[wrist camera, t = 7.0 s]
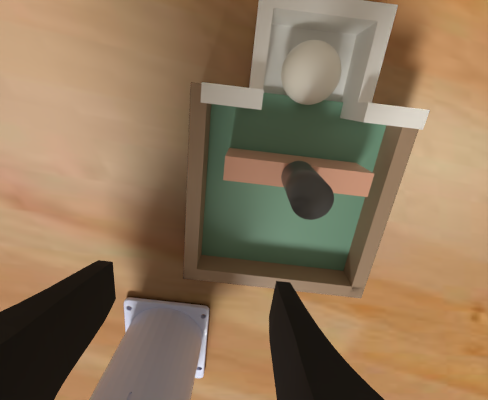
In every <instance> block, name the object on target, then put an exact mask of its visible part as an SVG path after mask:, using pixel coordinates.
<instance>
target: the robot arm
mask: <svg viewBox="0 0 488 400" xmlns="http://www.w3.org/2000/svg"><path fill="white" fill-rule="evenodd" d="M115 299H116V297H115V285H114V273H113V262H108V261H100V260H98V261H96V262H94V263H92V264H91V265H89V266H87V267H85V268H83V269H82V270H80V271H78V272H76V273H74V274H73V275H71V276H69V277H67V278H65V279H64V280H62V281H60V282H58V283H56V284H55V285H53V286H51V287H49V288H47V289H45V290H43V291H42V292H40V293H38V294H36V295H34V296H32V297H30V298H28V299H26V300H24V301H22V302H20V303H18V304H16V305H14V306H12V307H10V308H8V309H5V310H3V311H1V312H0V400H54V399H55V397H56V395H57V393H58V391H59V390H60V388H61V386H62V384H63V383H64V381H65V380H66V378H67V376H68V375H69V373H70V372H71V370H72V369H73V367H74V366H75V364H76V363H77V361H78V360H79V358H80V357H81V355H82V354H83V353H84V351H85V350H86V348H87V347H88V345H89V344H90V342H91V341H92V339H93V338H94V336H95V335H96V333H97V332H98V330H99V329H100V327H101V326H102V324H103V323H104V321H105V319H106V317H107V315H108V313H109V312H110V310H111V308H112V305H113V303H114V301H115ZM129 306H130V307H129ZM202 314H204V315H202ZM124 316H125V332H126V333H125V335H124V337H123V338H122V340H121V342H120V344H119V346H118V348H117V349H116V351H115V353H114V355H113V357H112V359H111V361H110V362H109V364H108V366H107V368H106V370H105V372H104V373H103V375H102V377H101V379H100V381H99V383H98V384H97V386H96V388H95V390H94V392H93V394H92V395H91V397H90V399H89V400H190V399H191V394H192V389H193V384H194V379H195V378H202V377H203V376H204V368H205V356H206V344H207V333H208V321H209V308H208V307H207V306H205V305H196V304H186V303H177V302H168V301H159V300H150V299H141V298H132V297H128V298H126V299H125V301H124ZM269 335H270V347H271V355H272V363H273V371H274V379H275V387H276V395H277V400H384V399H383V398H382V397H381V396H380V395H379V394H378V393H377V392H376V391H375V390H373V389H372V388H371V387H370V386H369V385H368V384H367V383H366V382H365V381H364V380H363V379H362V378H361V377H360V376H359V375H358V374H357V373H356V372H355V371H354V369H353V368H352V367H351V366H350V365H349V364H348V363H347V362H346V361H345V360H344V359H343V357H342V356H341V355H340V354H339V353H338V352H337V350H336V349H335V348H334V347H333V345H332V344H331V343H330V342H329V340H328V339H327V338H326V336H325V335H324V334H323V332H322V331H321V330H320V328H319V327H318V326H317V324H316V323H315V321H314V320H313V318H312V317H311V315H310V314H309V312H308V311H307V309H306V308H305V306H304V305H303V303H302V301H301V300H300V298H299V296H298V295H297V293H296V291H295V289H294V288H293V286H292V284H291V283H290V282H282V281H276V284H275V289H274V294H273V300H272V305H271V310H270V315H269Z"/></svg>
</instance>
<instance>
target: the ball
mask: <svg viewBox="0 0 488 400" xmlns="http://www.w3.org/2000/svg"><path fill="white" fill-rule="evenodd" d="M340 77H341V61H340V58H339V55H338V53H337V52H336V50H335V49H334V48H333V47H332V46H331V45H330V44H328V43H326V42H324V41H321V40H308V41H305V42H302V43H300V44H298V45H297V46H296V47H294V48H293V49H292V50H291V51H290V52H289V54H288V55H287V57H286V58H285V60H284V63H283V66H282V71H281V81H282V85H283V88H284V90H285V92H286V94H287V95H288V96H289V97H290V98H291V99H292V100H294V101H295V102H297V103H300V104H304V105H312V104H316V103H319V102H321V101H323V100H325V99H326V98H328V97H329V96H330V95H331V94H332V93H333V92H334V90H335V89H336V87H337V85H338V83H339V80H340Z"/></svg>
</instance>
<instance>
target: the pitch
mask: <svg viewBox="0 0 488 400" xmlns="http://www.w3.org/2000/svg"><path fill="white" fill-rule="evenodd" d="M397 7H398V5H395V4H388V3H380V2H372V1H364V0H259V4H258V13H257V22H256V31H255V40H254V48H253V57H252V66H251V75H250V84H249V88H246V87H238V86H230V85H222V84H214V83H206V82H202V84H200V83H192V82H191V89H190V115H189V141H188V167H187V193H186V219H185V245H184V271H183V279H192V280H201V281H210V282H219V283H228V284H237V285H246V286H255V287H264V288H273V289H275V284H276V281H282V282H290V283H291V284H292V286H293V288H294V289H295V291H300V292H309V293H318V294H327V295H336V296H345V297H354V298H361V297H362V294H363V291H364V288H365V286H366V283H367V280H368V277H369V274H370V271H371V268H372V265H373V262H374V259H375V256H376V253H377V250H378V247H379V244H380V241H381V238H382V236H383V233H384V230H385V227H386V224H387V221H388V218H389V215H390V212H391V209H392V206H393V203H394V200H395V197H396V194H397V191H398V189H399V186H400V183H401V180H402V177H403V174H404V171H405V168H406V165H407V162H408V159H409V156H410V153H411V150H412V147H413V144H414V142H415V139H416V136H417V133H418V130H419V129H422V130H423V128H424V125H425V122H426V120H427V117H428V114H429V111H430V110H425V109H417V108H409V107H401V106H393V105H384V104H376V103H372V100H373V96H374V93H375V89H376V85H377V81H378V78H379V74H380V70H381V67H382V63H383V59H384V55H385V52H386V48H387V44H388V41H389V37H390V33H391V29H392V26H393V22H394V18H395V15H396V11H397ZM308 40H321V41H324V42H326V43H328V44H330V45H331V46H332V47H333V48H334V49H335V50H336V52H337V53H338V55H339V58H340V61H341V77H340V80H339V83H338V85H337V87H336V89H335V90H334V92H333V93H332V94H331V95H330V96H329V97H328V98H326V99H325V100H323V101H321V102H319V103H316V104H312V105H304V104H300V103H297V102H295V101H294V100H292V99H291V98H290V97H289V96H288V95H287V94H286V92H285V90H284V88H283V85H282V81H281V71H282V66H283V63H284V60H285V58H286V57H287V55H288V54H289V52H290V51H291V50H292V49H293V48H294V47H296V46H297V45H298V44H300V43H302V42H305V41H308ZM229 148H236V149H244V150H253V151H261V152H270V153H278V154H286V155H295V156H303V157H311V158H320V159H328V160H336V161H345V162H353V163H357V164H359V165H360V166H362V167H364V168H366V169H367V170H369V171H371V172H372V173H374V177H373V181H372V184H371V187H370V191H369V194H368V197H363V196H354V195H346V194H337V193H333V194H334V203H333V206H332V208H331V209H330V211H329V212H328V213H327V214H326V215H324V216H323V217H321V218H318V219H314V220H307V219H303V218H301V217H299V216H298V215H296V214H295V213H294V211H293V209H292V207H291V205H290V202H289V199H288V197H287V194H286V191H285V189H284V187H277V186H269V185H260V184H252V183H243V182H235V181H226V180H223V175H224V164H225V155H226V153H227V151H228V149H229Z"/></svg>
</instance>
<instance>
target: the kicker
mask: <svg viewBox="0 0 488 400" xmlns="http://www.w3.org/2000/svg"><path fill="white" fill-rule="evenodd" d="M373 177H374V173H372V172H371V171H369V170H367V169H366V168H364V167H362V166H360V165H359V164H357V163H353V162H345V161H336V160H328V159H320V158H311V157H303V156H295V155H286V154H278V153H270V152H261V151H253V150H244V149H236V148H229V149H228V151H227V153H226V155H225V164H224V175H223V180H226V181H235V182H243V183H252V184H260V185H269V186H277V187H284V189H285V191H286V194H287V197H288V199H289V202H290V205H291V207H292V209H293V211H294V213H295V214H296V215H298V216H299V217H301V218H303V219H307V220H314V219H318V218H321V217H323V216H324V215H326V214H327V213H328V212H329V211H330V209H331V208H332V206H333V203H334V194H333V193H337V194H346V195H354V196H363V197H368V194H369V191H370V187H371V184H372V181H373Z"/></svg>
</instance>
